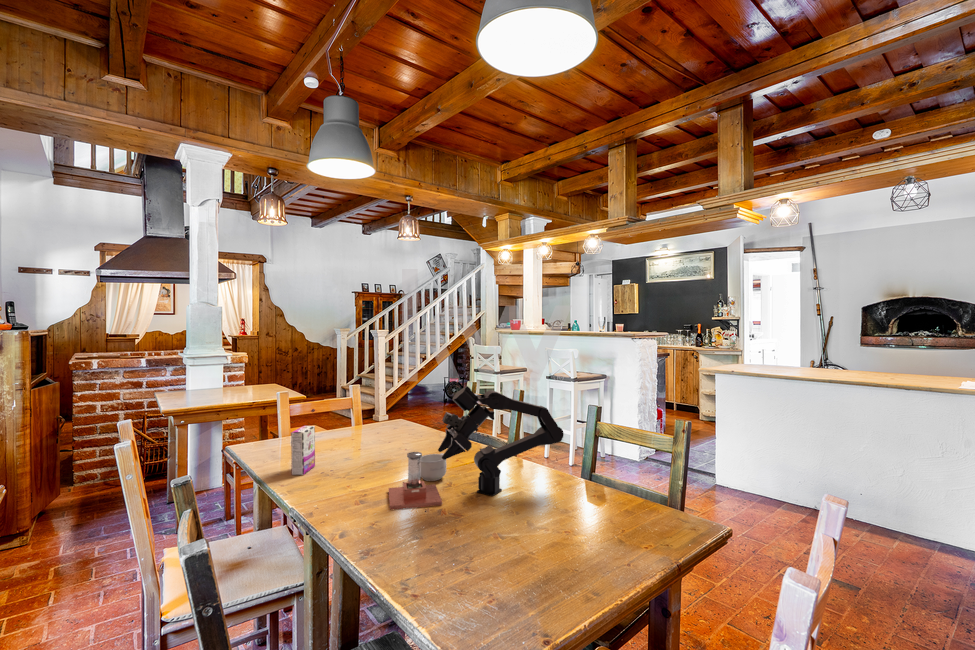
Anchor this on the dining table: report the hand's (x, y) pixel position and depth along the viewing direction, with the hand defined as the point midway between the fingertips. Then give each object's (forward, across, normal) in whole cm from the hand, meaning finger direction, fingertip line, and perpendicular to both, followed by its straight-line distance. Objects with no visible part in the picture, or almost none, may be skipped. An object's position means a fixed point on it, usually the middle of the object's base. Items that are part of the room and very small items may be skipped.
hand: (440, 454), depth 151 cm
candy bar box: (+44, -38, -24) cm, 63 cm away
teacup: (+9, -19, +10) cm, 24 cm away
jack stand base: (+16, 0, +4) cm, 16 cm away
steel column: (+15, 0, +2) cm, 15 cm away
